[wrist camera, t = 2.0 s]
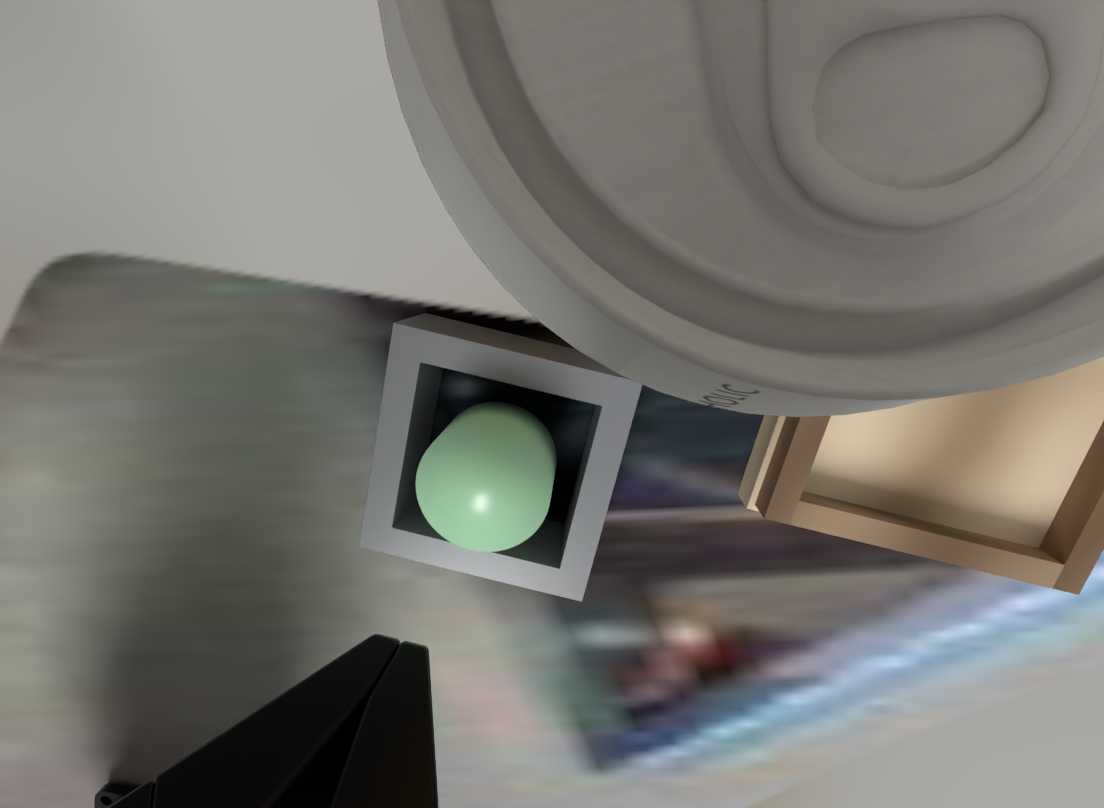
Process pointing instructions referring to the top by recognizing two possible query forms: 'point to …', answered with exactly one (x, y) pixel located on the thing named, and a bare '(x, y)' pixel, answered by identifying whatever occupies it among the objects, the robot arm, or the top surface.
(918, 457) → the shallow wooden tray
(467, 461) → the button
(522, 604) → the top surface
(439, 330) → the button console
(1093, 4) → the beer can
